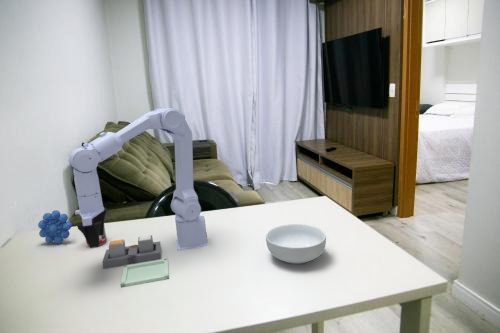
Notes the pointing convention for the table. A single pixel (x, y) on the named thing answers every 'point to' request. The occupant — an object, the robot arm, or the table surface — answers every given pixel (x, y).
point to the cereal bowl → (296, 242)
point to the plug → (117, 248)
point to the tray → (145, 272)
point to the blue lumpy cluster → (54, 227)
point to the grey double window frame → (132, 256)
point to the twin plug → (145, 244)
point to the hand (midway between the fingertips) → (96, 240)
